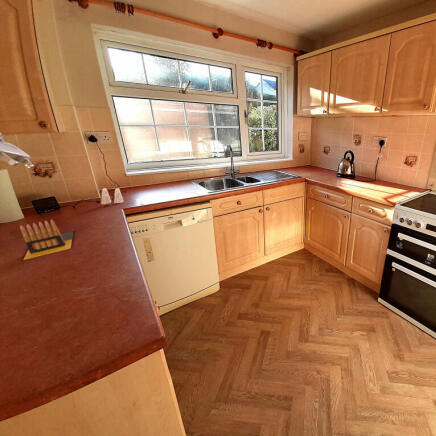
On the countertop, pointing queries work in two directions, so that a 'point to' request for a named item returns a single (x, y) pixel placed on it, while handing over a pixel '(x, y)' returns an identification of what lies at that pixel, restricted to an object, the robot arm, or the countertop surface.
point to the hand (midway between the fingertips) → (24, 165)
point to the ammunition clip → (42, 237)
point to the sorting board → (67, 239)
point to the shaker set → (106, 197)
